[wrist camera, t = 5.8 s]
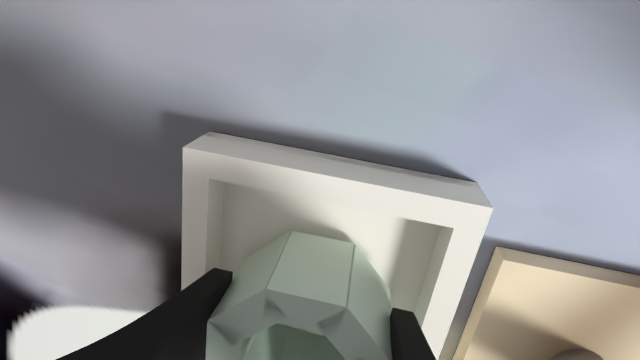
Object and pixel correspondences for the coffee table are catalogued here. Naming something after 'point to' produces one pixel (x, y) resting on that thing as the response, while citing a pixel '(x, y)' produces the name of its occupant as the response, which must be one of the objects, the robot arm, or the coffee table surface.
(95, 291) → the coffee table surface
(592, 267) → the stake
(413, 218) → the tray
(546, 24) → the coffee table surface
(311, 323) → the ring
